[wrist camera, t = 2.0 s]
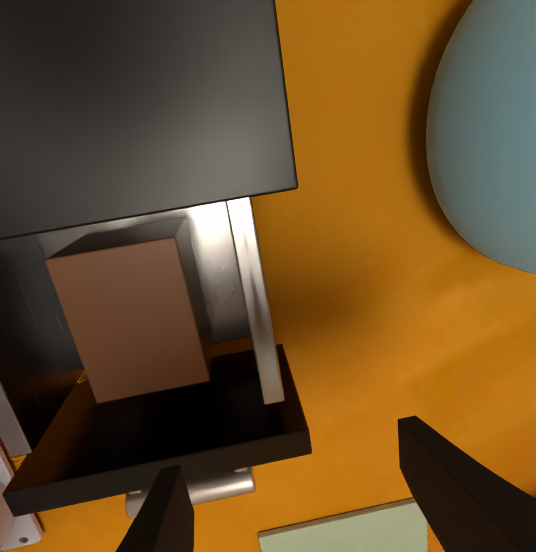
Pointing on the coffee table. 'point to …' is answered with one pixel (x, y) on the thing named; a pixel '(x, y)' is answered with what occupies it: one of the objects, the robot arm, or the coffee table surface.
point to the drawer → (153, 406)
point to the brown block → (135, 309)
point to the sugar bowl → (488, 131)
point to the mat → (355, 532)
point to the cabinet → (137, 109)
